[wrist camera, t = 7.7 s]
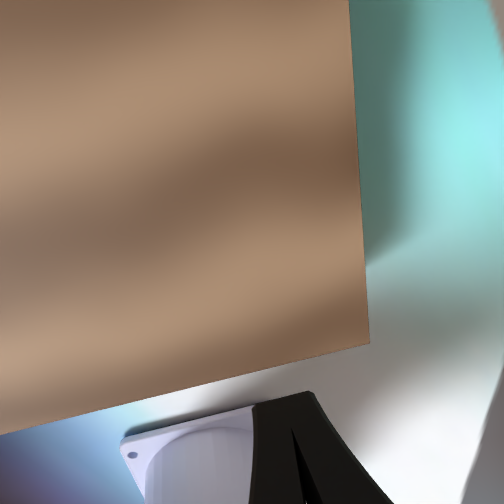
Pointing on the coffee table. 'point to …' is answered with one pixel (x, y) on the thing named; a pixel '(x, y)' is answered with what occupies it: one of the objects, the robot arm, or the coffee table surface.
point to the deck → (172, 197)
